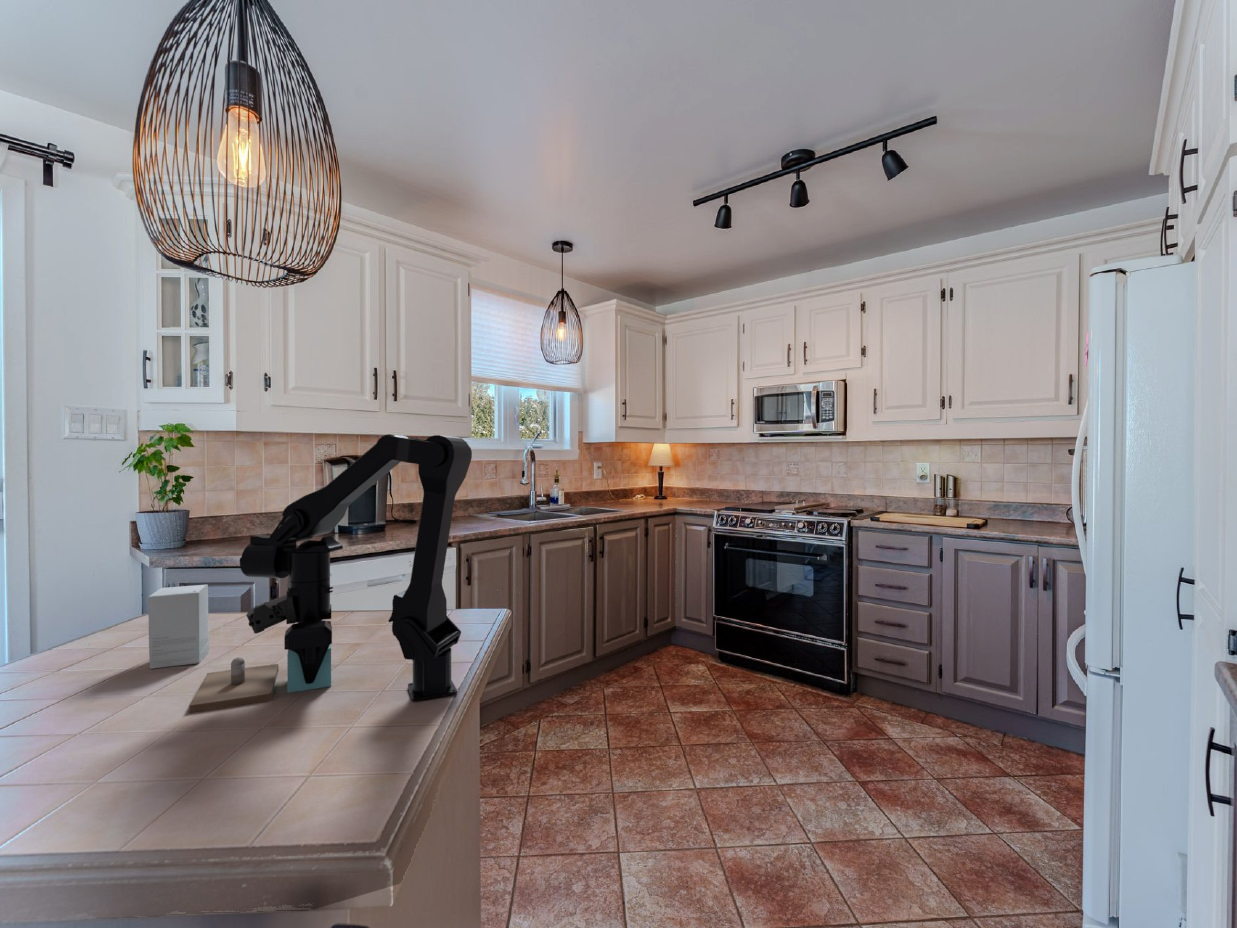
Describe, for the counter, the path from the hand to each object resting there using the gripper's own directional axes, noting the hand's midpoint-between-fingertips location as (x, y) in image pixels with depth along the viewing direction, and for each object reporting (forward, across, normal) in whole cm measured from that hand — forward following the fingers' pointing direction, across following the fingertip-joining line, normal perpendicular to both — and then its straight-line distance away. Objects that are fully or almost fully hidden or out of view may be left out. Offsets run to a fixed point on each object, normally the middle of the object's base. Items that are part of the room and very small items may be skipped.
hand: (310, 676), depth 94 cm
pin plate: (+1, -2, -10) cm, 10 cm away
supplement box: (+1, -22, -21) cm, 30 cm away
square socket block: (+1, 0, 0) cm, 1 cm away
